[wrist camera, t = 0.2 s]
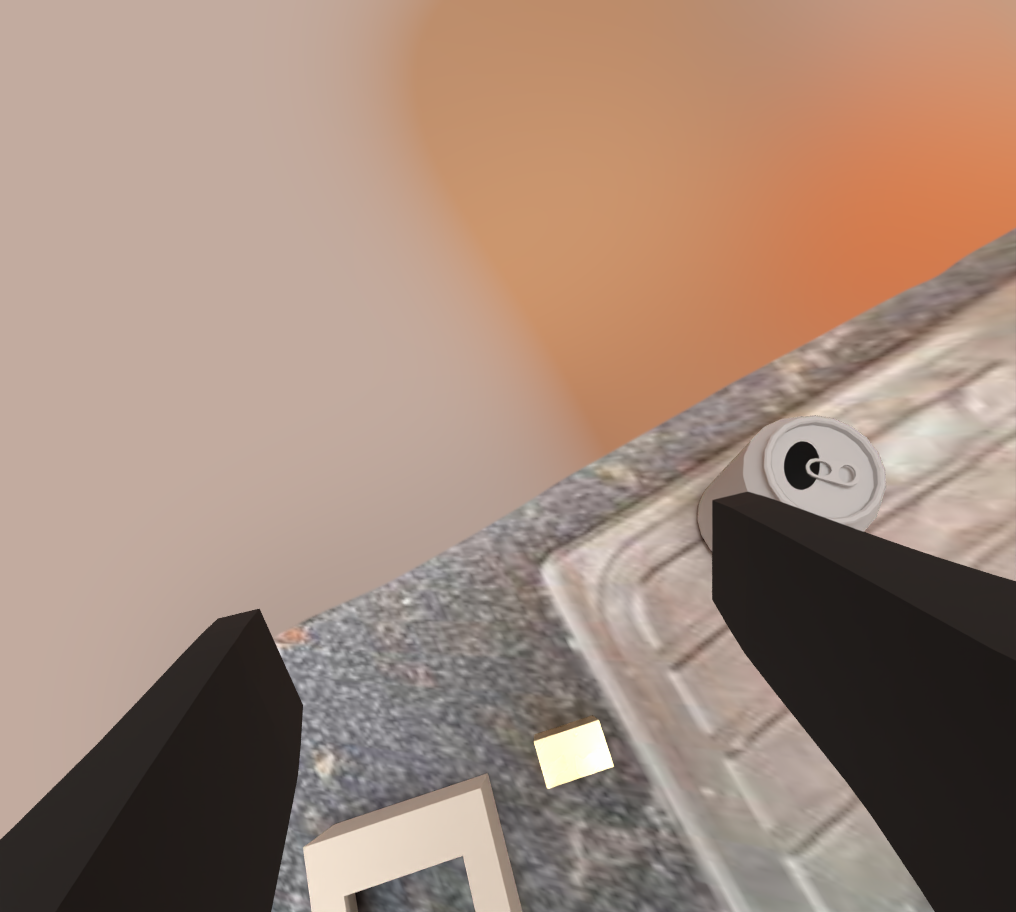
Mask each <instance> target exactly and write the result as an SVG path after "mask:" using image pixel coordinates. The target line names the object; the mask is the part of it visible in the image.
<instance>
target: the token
mask: <svg viewBox="0 0 1016 912" xmlns="http://www.w3.org/2000/svg"><path fill="white" fill-rule="evenodd" d="M534 744H535V747H536V751H537V754H538V758H539V761H540V765H541V769H542V772H543V776H544V779H545V783H546V786H547V789H549V788H552V787H555V786H557V785H560V784H563V783H566V782H569V781H572V780H575V779H578V778H581V777H584V776H587V775H590V774H593V773H596V772H599V771H602V770H605V769H608V768H611V767H614V765H613V762H612V759H611V756H610V753H609V750H608V747H607V744H606V741H605V738H604V734H603V731H602V728H601V725H600V722H599V720H598V719H597V718H595V717H594V716H593V715H592V716H589V717H586V718H583V719H580V720H577V721H574V722H571V723H568V724H565V725H562V726H559V727H556V728H553V729H550V730H547V731H544V732H541V733H538V734H535V735H534Z"/></svg>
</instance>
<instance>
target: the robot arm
mask: <svg viewBox="0 0 1016 912" xmlns="http://www.w3.org/2000/svg"><path fill="white" fill-rule="evenodd" d="M712 600H713V602H714V603H715V605H716V607H717V608H718V610H719V612H720V613H721V615H722V617H723V619H724V620H725V622H726V624H727V625H728V627H729V629H730V630H731V632H732V634H733V635H734V637H735V638H736V640H737V642H738V643H739V645H740V646H741V648H742V650H743V651H744V653H745V654H746V656H747V657H748V658H749V659H750V661H751V662H752V663H753V665H754V666H755V667H756V669H757V670H758V671H759V672H760V674H761V675H762V676H763V677H764V679H765V680H766V681H767V683H768V684H769V685H770V686H771V688H772V689H773V690H774V692H775V693H776V694H777V695H778V697H779V698H780V699H781V700H782V702H783V703H784V704H785V705H786V707H787V708H788V709H789V710H790V712H791V713H792V714H793V715H794V717H795V718H796V719H797V720H798V722H799V723H800V724H801V725H802V727H803V728H804V729H805V730H806V732H807V733H808V734H809V736H810V737H811V738H812V739H813V741H814V742H815V743H816V744H817V746H818V747H819V748H820V749H821V751H822V752H823V753H824V754H825V756H826V757H827V758H828V759H829V761H830V762H831V763H832V764H833V766H834V767H835V768H836V769H837V771H838V772H839V773H840V774H841V776H842V777H843V778H844V779H845V781H846V782H847V783H848V785H849V786H850V787H851V789H852V790H853V791H854V793H855V794H856V795H857V797H858V798H859V800H860V801H861V802H862V804H863V805H864V806H865V808H866V809H867V810H868V812H869V813H870V814H871V816H872V817H873V819H874V820H875V822H876V823H877V825H878V826H879V828H880V829H881V831H882V832H883V834H884V835H885V837H886V838H887V840H888V841H889V843H890V844H891V846H892V847H893V849H894V850H895V852H896V853H897V855H898V856H899V858H900V859H901V861H902V862H903V864H904V865H905V867H906V868H907V870H908V871H909V873H910V874H911V876H912V877H913V879H914V880H915V882H916V883H917V885H918V886H919V888H920V889H921V891H922V892H923V894H924V896H925V897H926V899H927V900H928V902H929V903H930V905H931V907H932V908H933V910H934V911H935V912H1016V581H1013V580H1009V579H1006V578H1002V577H999V576H996V575H992V574H989V573H986V572H983V571H980V570H976V569H973V568H970V567H967V566H964V565H961V564H957V563H954V562H951V561H948V560H945V559H941V558H938V557H935V556H932V555H929V554H926V553H923V552H920V551H917V550H914V549H911V548H908V547H905V546H903V545H900V544H897V543H894V542H891V541H888V540H885V539H882V538H880V537H877V536H874V535H871V534H869V533H866V532H863V531H860V530H857V529H855V528H852V527H849V526H846V525H844V524H841V523H838V522H835V521H833V520H830V519H827V518H825V517H822V516H819V515H816V514H814V513H811V512H808V511H805V510H803V509H800V508H797V507H794V506H792V505H789V504H786V503H783V502H780V501H777V500H774V499H771V498H768V497H765V496H762V495H758V494H755V493H751V492H748V491H747V492H743V493H739V494H735V495H731V496H727V497H722V498H718V499H714V500H712ZM302 714H303V704H302V702H301V700H300V698H299V695H298V693H297V691H296V689H295V686H294V684H293V682H292V680H291V678H290V675H289V673H288V671H287V669H286V666H285V664H284V662H283V660H282V658H281V655H280V653H279V651H278V649H277V647H276V644H275V642H274V640H273V638H272V635H271V633H270V631H269V629H268V627H267V624H266V622H265V620H264V618H263V615H262V613H261V611H260V609H257V610H252V611H248V612H244V613H239V614H235V615H232V616H227V617H223V618H219V619H217V620H216V621H215V622H214V623H213V624H212V625H211V626H210V627H208V628H207V629H206V630H205V631H204V632H203V633H202V634H201V635H200V636H199V637H198V639H196V641H195V642H193V644H192V645H191V646H190V647H189V648H188V649H187V650H186V651H185V652H184V653H183V654H182V655H181V656H180V657H179V658H178V659H177V660H176V661H175V663H173V665H172V666H171V667H170V668H169V669H168V670H167V671H166V672H165V673H164V674H163V676H161V677H160V678H159V679H158V681H157V682H156V683H155V684H154V685H153V686H152V687H151V688H150V689H149V690H148V691H147V692H146V693H145V694H144V695H143V697H142V698H141V699H140V700H139V701H138V702H137V703H136V704H135V705H134V706H133V707H132V708H131V709H130V710H129V711H128V712H127V713H126V714H125V715H124V716H123V718H122V719H121V720H120V721H119V722H118V723H117V724H116V725H115V726H114V727H113V728H112V729H111V730H110V731H109V732H108V733H107V734H106V735H105V737H104V738H103V739H102V740H101V741H100V742H99V743H98V744H97V745H96V746H95V747H94V748H93V749H92V750H91V751H90V752H89V753H88V754H87V755H86V756H85V757H84V758H83V759H82V760H81V761H80V762H79V763H78V764H77V765H76V766H75V767H74V768H73V769H72V770H71V771H70V772H69V773H68V774H67V775H66V776H65V777H64V778H63V779H62V780H61V781H60V782H59V783H58V784H57V785H56V786H54V787H53V788H52V790H51V791H50V792H49V793H47V794H46V795H45V796H44V797H43V798H42V799H41V801H39V803H37V804H36V805H35V806H34V808H32V809H31V810H30V811H29V812H28V813H27V814H26V815H25V816H24V817H23V818H22V819H21V820H20V821H19V823H17V824H16V825H15V826H14V827H13V828H12V829H11V830H10V831H9V832H8V833H7V834H6V835H5V836H4V837H3V838H2V839H0V912H271V910H272V905H273V900H274V895H275V890H276V885H277V880H278V875H279V870H280V865H281V860H282V855H283V850H284V845H285V840H286V835H287V830H288V825H289V819H290V814H291V809H292V804H293V799H294V793H295V788H296V783H297V777H298V769H299V758H300V746H301V731H302Z"/></svg>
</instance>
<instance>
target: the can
mask: <svg viewBox="0 0 1016 912" xmlns="http://www.w3.org/2000/svg"><path fill="white" fill-rule="evenodd" d="M885 489H886V474H885V468H884V465H883V463H882V460H881V458H880V455H879V453H878V451H877V450H876V449H875V448H874V446H873V445H872V444H871V442H870V441H869V440H868V439H867V437H865V436H864V435H863V434H861V433H860V432H859V431H857V430H856V429H855V428H853V427H852V426H850V425H848V424H846V423H843V422H841V421H839V420H836V419H834V418H829V417H822V416H816V415H814V416H806V417H802V416H801V417H793V418H785V419H780V420H778V421H776V422H774V423H772V424H770V425H767V426H765V427H764V428H763V429H762V430H761V431H760V432H759V433H758V434H757V435H756V436H755V437H754V438H753V439H752V440H751V441H750V442H749V443H748V444H747V445H746V446H745V447H744V448H743V450H742V451H741V452H740V453H739V454H738V455H737V456H736V457H735V458H734V459H733V460H732V461H731V463H730V464H729V465H728V466H727V467H726V468H725V469H724V470H723V471H722V472H721V473H720V475H719V476H718V477H717V478H716V479H715V480H714V481H713V482H712V483H711V484H710V485H709V487H708V488H707V489H706V490H705V491H704V494H703V496H702V498H701V500H700V502H699V507H698V523H699V527H700V531H701V535H702V537H703V539H704V540H705V542H706V544H707V545H708V547H709V548H710V550H711V551H712V500H714V499H718V498H722V497H727V496H731V495H735V494H739V493H743V492H747V491H748V492H751V493H755V494H758V495H762V496H765V497H768V498H771V499H774V500H777V501H780V502H783V503H786V504H789V505H792V506H794V507H797V508H800V509H803V510H805V511H808V512H811V513H814V514H816V515H819V516H822V517H825V518H827V519H830V520H833V521H835V522H838V523H841V524H844V525H846V526H849V527H852V528H855V529H857V530H860V531H863V532H864V531H865V530H866V528H867V527H868V526H869V525H870V524H871V523H872V522H873V521H874V519H875V518H876V517H877V514H878V511H879V508H880V505H881V502H882V499H883V495H884V492H885Z"/></svg>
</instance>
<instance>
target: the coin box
mask: <svg viewBox="0 0 1016 912" xmlns="http://www.w3.org/2000/svg"><path fill="white" fill-rule="evenodd" d="M303 850H304V857H305V865H306V872H307V880H308V887H309V895H310V902H311V910H312V912H358V907H357V901H356V895H355V892H358V891H361V890H364V889H367V888H370V887H373V886H376V885H379V884H382V883H385V882H387V881H390V880H393V879H396V878H399V877H402V876H405V875H408V874H411V873H414V872H417V871H420V870H422V869H425V868H428V867H431V866H434V865H437V864H440V863H443V862H446V861H449V860H452V859H455V858H458V857H460V856H463V858H464V863H465V867H466V872H467V876H468V880H469V885H470V889H471V894H472V898H473V903H474V907H475V912H522V908H521V904H520V900H519V896H518V892H517V888H516V884H515V880H514V876H513V872H512V868H511V864H510V860H509V856H508V852H507V848H506V844H505V840H504V836H503V832H502V828H501V824H500V820H499V816H498V812H497V808H496V804H495V800H494V796H493V792H492V788H491V784H490V780H489V776H488V773H487V774H484V775H481V776H478V777H475V778H472V779H469V780H466V781H463V782H460V783H457V784H454V785H451V786H448V787H445V788H442V789H439V790H436V791H433V792H430V793H427V794H424V795H421V796H418V797H415V798H412V799H409V800H406V801H403V802H400V803H397V804H394V805H391V806H388V807H385V808H382V809H379V810H376V811H373V812H370V813H367V814H364V815H361V816H358V817H355V818H352V819H349V820H346V821H343V822H340V823H337V824H334V825H333V826H331V827H330V828H329V829H327V830H326V831H325V832H323V833H322V834H321V835H319V836H318V837H317V838H315V839H314V840H313V841H311V842H310V843H309V844H307V845H306V846H305V847H303Z"/></svg>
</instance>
